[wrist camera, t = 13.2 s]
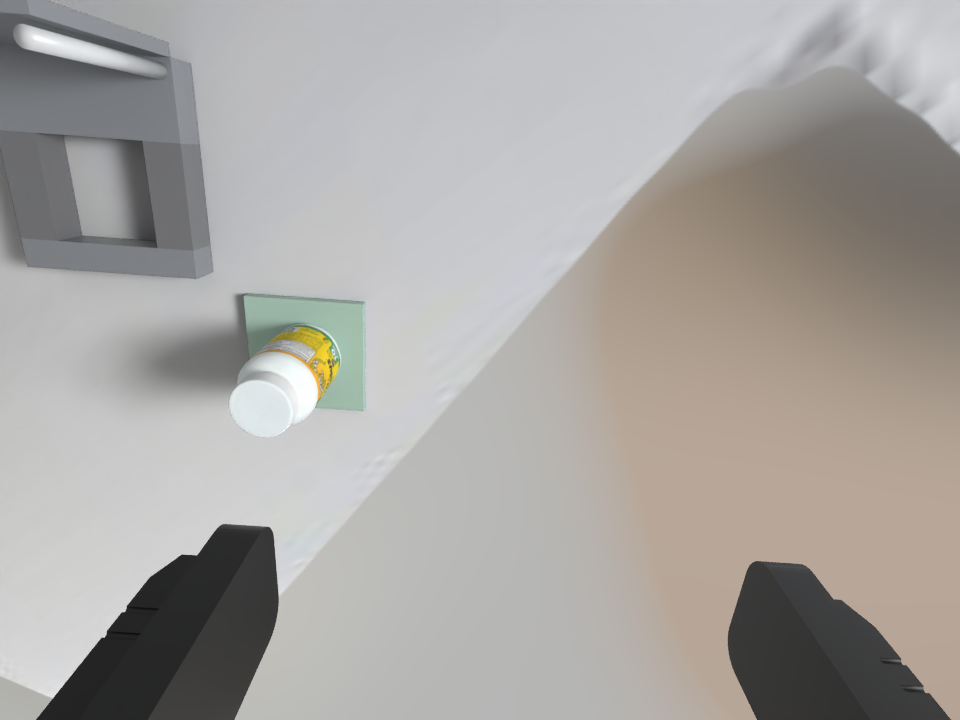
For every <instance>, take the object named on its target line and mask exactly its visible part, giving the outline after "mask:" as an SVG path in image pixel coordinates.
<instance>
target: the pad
mask: <svg viewBox="0 0 960 720" xmlns="http://www.w3.org/2000/svg"><path fill="white" fill-rule="evenodd" d="M244 307H245V318H246V330H247V341H248V352H249V359H250V358H251V357H253V356H254V355H255V354H256V353H257V352H258V351H260V350H261V349H262V348H263V347H264V346H265V345H266V344H268V343H269V342H270V341H271V340H272V339H273V338H274V337H275V336H277V335H278V334H279V333H280V332H282V331H283V330H284V329H286V328H288V327H290V326H292V325H296V324H311V325H315V326H318V327H320V328H322V329H324V330H325V331H327V332H328V333H329V334H330V335H331V336H332V337H333V338H334V340H335V341H336V343H337V345H338V348H339V351H340V354H341V366H340V369H339V372H338V374H337V375H336V377H335V379H334V380H333V382H332V383H331V384H330V386H329V387H328V389H327V390H326V392H325V393H324V395H323V396H322V398H321V399H320V401H319V402H318V404H317V405H316V407H315V408H323V409H337V410H352V411H364V409H365V407H366V391H365V302H359V301H345V300H332V299H318V298H304V297H290V296H276V295H262V294H246V295H244Z"/></svg>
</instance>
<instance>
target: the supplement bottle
mask: <svg viewBox="0 0 960 720" xmlns="http://www.w3.org/2000/svg"><path fill="white" fill-rule="evenodd" d="M340 366H341V354H340V351H339V348H338V345H337V343H336V341H335V340H334V338H333V337H332V336H331V335H330V334H329V333H328V332H327V331H325V330H324V329H322V328H320V327H318V326H315V325H311V324H296V325H292V326H290V327H288V328H286V329H284V330H283V331H282V332H280V333H279V334H278V335H277V336H275V337H274V338H273V339H272V340H271V341H270V342H269V343H268V344H266V345H265V346H264V347H263V348H262V349H261V350H260V351H258V352H257V353H256V354H255V355H254V356H253V357H251V358H250V359H249V360H248V361H247V362H246V363H245V364H244V366H243V367H242V369H241V370H240V372H239V375H238V378H237V386H236V387H235V389H234V390H233V391H232V393H231V395H230V398H229V410H230V414H231V416H232V418H233V420H234V421H235V423H236V424H237V425H238V426H239V427H240V428H241V429H243V430H244V431H246V432H247V433H249V434H252V435H255V436H258V437H273V436H276V435H279V434H281V433H282V432H284V431H285V430H286V429H287V428H288V427H289V426H291V425H294V424H297V423H299V422H301V421H302V420H304V419H305V418H306V417H307V416H308V415H309V414H310V413H311V412H312V411H313V409H314V408H315V407H316V405H317V404H318V402H319V401H320V399H321V398H322V396H323V395H324V393H325V392H326V390H327V389H328V387H329V386H330V384H331V383H332V382H333V380H334V379H335V377H336V375H337V374H338V372H339V369H340Z"/></svg>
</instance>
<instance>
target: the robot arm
mask: <svg viewBox="0 0 960 720" xmlns="http://www.w3.org/2000/svg"><path fill="white" fill-rule="evenodd" d="M278 600H279V598H278V584H277V572H276V560H275V547H274V537H273V532H272V530H271V528H269V527H261V526H246V525H231V524H223V525H221V526H219V527H218V528H217V529H216V531H215V532H214V533H213V535H212V536H211V537H210V539H209V540H208V542H207V543H206V544H205V546H204V547H203V548H202V550H201V551H200V553H199V554H198V555H197V556H195V555H181V556H179V557H178V558H177V559H175V560H174V561H172V562H171V563H170V564H168V565H167V566H165V567H164V568H163V569H161V570H160V571H158V572H157V573H156V574H154V575H153V576H151V577H150V578H149V579H148V580H147V582H146V583H145V584H144V585H143V587H142V588H141V589H140V590H139V592H138V593H137V594H136V595H135V597H134V598H133V599H132V600H131V602H130V603H129V604H128V605H127V609H126V612H122V613H121V614H120V615H119V617H118V618H117V619H116V620H115V622H114V623H113V624H112V625H111V627H110V628H109V629H108V630H107V635H106V637H105V638H101V639H100V640H99V642H98V643H97V644H96V645H95V647H94V648H93V649H92V650H91V652H90V653H89V654H88V655H87V657H86V658H85V659H84V660H83V662H82V663H81V664H80V665H79V667H78V668H77V669H76V670H75V672H74V673H73V674H72V675H71V677H70V678H69V679H68V680H67V682H66V683H65V684H64V685H63V687H62V688H61V689H60V690H59V692H58V693H57V694H56V695H55V697H54V698H53V699H52V700H51V702H50V703H49V705H48V706H47V707H46V708H45V710H43V712H42V713H41V714H40V716H39V717H38V718H37V719H36V720H234V719H235V717H236V715H237V712H238V710H239V708H240V706H241V704H242V701H243V699H244V696H245V695H246V692H247V690H248V688H249V686H250V684H251V681H252V679H253V677H254V675H255V672H256V670H257V668H258V666H259V664H260V661H261V659H262V657H263V655H264V652H265V650H266V648H267V646H268V643H269V641H270V639H271V636H272V633H273V630H274V627H275V623H276V618H277V612H278V602H279V601H278ZM728 650H729V656H730V660H731V664H732V667H733V669H734V672H735V674H736V676H737V679H738V681H739V683H740V685H741V687H742V689H743V691H744V693H745V695H746V697H747V700H748V702H749V704H750V706H751V708H752V710H753V712H754V714H755V716H756V718H757V720H951V719H950V718H949V717H948V716H947V714H946V713H945V712H944V711H943V709H942V708H941V707H940V706H939V705H938V703H937V702H936V701H935V700H934V698H933V697H932V696H931V695H930V694H929V693H925V692H924V690H923V685H922V684H921V683H920V681H919V680H918V679H917V678H916V676H915V675H914V674H913V673H912V672H911V670H910V669H909V668H908V667H907V666H906V665H902V663H901V658H900V657H899V656H898V654H897V653H896V652H895V651H894V650H893V648H892V647H891V646H890V645H889V644H888V642H887V641H886V640H885V639H884V638H883V636H882V635H881V634H880V633H879V631H878V630H877V629H876V628H875V627H874V626H873V625H872V624H871V623H869V622H868V621H867V620H865V619H864V618H863V617H862V616H860V615H859V614H858V613H857V612H855V611H854V610H853V609H851V608H850V607H849V606H848V605H847V604H845V603H844V602H843V601H841V600H834V599H833V598H832V597H831V596H830V594H829V593H828V592H827V591H826V589H825V588H824V587H823V585H822V584H821V583H820V582H819V580H818V579H817V578H816V576H815V575H814V574H813V572H812V571H811V570H810V569H809V568H807V567H806V566H804V565H802V564H791V563H776V562H775V563H774V562H761V561H756V562H753V563H752V564H751V565H750V566H749V568H748V570H747V573H746V576H745V579H744V582H743V585H742V589H741V592H740V595H739V598H738V601H737V605H736V608H735V611H734V614H733V618H732V621H731V624H730V627H729V632H728Z"/></svg>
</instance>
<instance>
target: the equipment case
mask: <svg viewBox="0 0 960 720" xmlns="http://www.w3.org/2000/svg"><path fill="white" fill-rule="evenodd" d="M63 135H72V136H85V137H98V138H112V139H125V140H138V141H142V143H143V150H144V157H145V164H146V171H147V178H148V185H149V192H150V199H151V206H152V213H153V220H154V227H155V234H156V241H145V240H132V239H118V238H104V237H91V236H82V232H81V227H80V222H79V217H78V211H77V206H76V201H75V196H74V190H73V185H72V180H71V175H70V169H69V164H68V159H67V153H66V148H65V143H64V138H63ZM0 149H1V153H2V158H3V162H4V166H5V171H6V175H7V180H8V184H9V188H10V193H11V197H12V201H13V206H14V210H15V214H16V219H17V223H18V227H19V232H20V236H21V240H22V245H23V249H24V253H25V258H26V262H27V266H28V267H39V268H52V269H66V270H80V271H94V272H108V273H122V274H135V275H149V276H163V277H177V278H191V279H198V278H200V277H202V276H205V275H207V274H209V273H212V272H213V265H212V255H211V246H210V237H209V227H208V218H207V209H206V200H205V190H204V181H203V172H202V162H201V153H200V144H199V134H198V125H197V116H196V106H195V97H194V88H193V78H192V69H191V64H190V63H187V62H184V61H181V60H177V59H174V58H171V57H170V51H169V43H168V42H165V41H162V40H159V39H156V38H154V37H151V36H148V35H145V34H142V33H139V32H136V31H134V30H131V29H128V28H125V27H122V26H119V25H116V24H114V23H111V22H108V21H105V20H102V19H99V18H96V17H94V16H91V15H88V14H85V13H82V12H79V11H76V10H73V9H71V8H68V7H65V6H62V5H59V4H56V3H53V2H51V1H48V0H0Z"/></svg>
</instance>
